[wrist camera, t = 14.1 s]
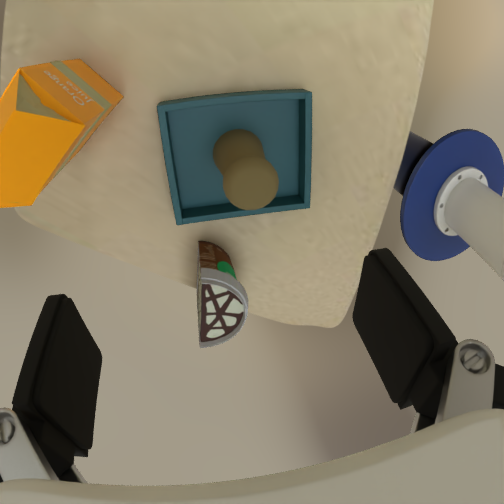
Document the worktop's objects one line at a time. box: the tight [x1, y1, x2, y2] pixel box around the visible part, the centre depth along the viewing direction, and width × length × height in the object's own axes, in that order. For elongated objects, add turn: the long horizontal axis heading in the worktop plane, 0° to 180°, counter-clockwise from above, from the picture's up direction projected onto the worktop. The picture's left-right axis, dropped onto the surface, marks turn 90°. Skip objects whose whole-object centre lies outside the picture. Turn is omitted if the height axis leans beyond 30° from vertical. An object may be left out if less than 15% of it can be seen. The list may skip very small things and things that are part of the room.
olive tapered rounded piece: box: [213, 129, 279, 210], centre depth 33 cm, size 6×6×11 cm
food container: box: [197, 241, 248, 348], centre depth 43 cm, size 12×6×10 cm, turn 173°
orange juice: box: [0, 59, 124, 208], centre depth 22 cm, size 8×9×20 cm
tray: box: [157, 89, 312, 225], centre depth 36 cm, size 17×15×3 cm
